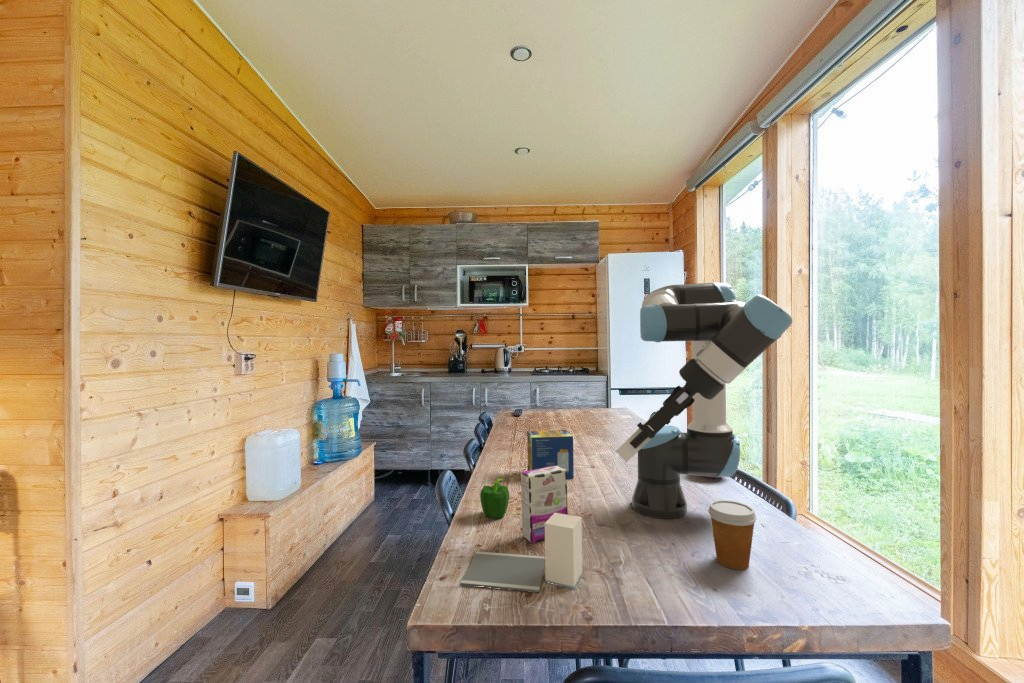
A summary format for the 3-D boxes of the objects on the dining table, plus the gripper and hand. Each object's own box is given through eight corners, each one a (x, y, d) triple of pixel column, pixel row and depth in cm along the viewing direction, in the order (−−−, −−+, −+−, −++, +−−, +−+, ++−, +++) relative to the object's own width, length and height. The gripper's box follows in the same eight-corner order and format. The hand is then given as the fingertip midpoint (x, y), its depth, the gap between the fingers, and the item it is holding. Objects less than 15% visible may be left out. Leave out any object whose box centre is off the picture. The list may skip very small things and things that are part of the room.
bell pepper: (486, 524, 115) (486, 486, 115) (476, 513, 123) (476, 478, 123) (515, 518, 119) (514, 482, 119) (503, 508, 126) (503, 474, 126)
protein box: (527, 472, 160) (526, 431, 160) (567, 470, 162) (566, 429, 162) (531, 481, 150) (530, 437, 150) (574, 479, 152) (573, 435, 152)
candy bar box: (557, 526, 113) (557, 464, 113) (568, 534, 108) (567, 469, 108) (520, 536, 108) (519, 471, 108) (530, 544, 103) (529, 476, 103)
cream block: (582, 574, 90) (581, 517, 90) (574, 589, 84) (573, 528, 84) (555, 568, 92) (554, 512, 92) (545, 582, 87) (544, 523, 87)
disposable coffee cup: (756, 578, 87) (755, 519, 87) (705, 566, 92) (704, 510, 92) (758, 558, 95) (757, 504, 95) (711, 547, 100) (710, 496, 100)
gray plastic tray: (546, 559, 96) (545, 556, 96) (539, 592, 83) (539, 589, 83) (477, 554, 99) (476, 551, 99) (460, 585, 86) (460, 582, 86)
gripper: (699, 353, 90) (630, 421, 97) (685, 360, 68) (597, 448, 75) (728, 378, 87) (655, 446, 94) (723, 394, 65) (629, 481, 72)
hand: (629, 447), depth 85 cm, fingers open, 13 cm apart
